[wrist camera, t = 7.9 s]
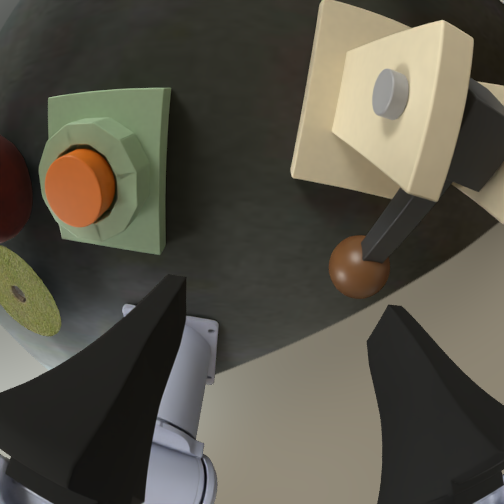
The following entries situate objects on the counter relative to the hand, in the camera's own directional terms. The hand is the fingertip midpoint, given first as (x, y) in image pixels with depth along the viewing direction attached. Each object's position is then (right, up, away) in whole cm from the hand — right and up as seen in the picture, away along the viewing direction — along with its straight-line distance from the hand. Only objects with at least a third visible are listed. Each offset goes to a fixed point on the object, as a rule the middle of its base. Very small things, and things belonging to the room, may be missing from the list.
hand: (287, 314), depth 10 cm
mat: (-24, -1, +12) cm, 27 cm away
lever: (+5, +5, +1) cm, 7 cm away
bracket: (+6, +10, +3) cm, 12 cm away
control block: (-10, +7, +6) cm, 14 cm away
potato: (-20, +9, +6) cm, 23 cm away
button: (-10, +6, +4) cm, 12 cm away
